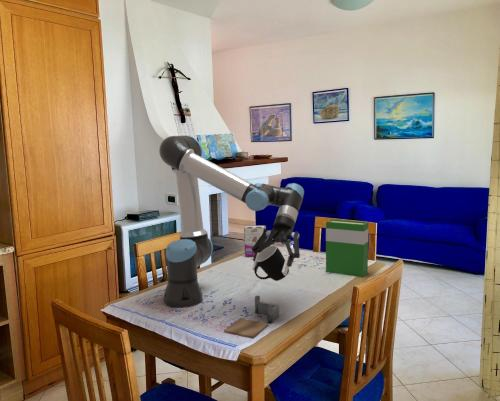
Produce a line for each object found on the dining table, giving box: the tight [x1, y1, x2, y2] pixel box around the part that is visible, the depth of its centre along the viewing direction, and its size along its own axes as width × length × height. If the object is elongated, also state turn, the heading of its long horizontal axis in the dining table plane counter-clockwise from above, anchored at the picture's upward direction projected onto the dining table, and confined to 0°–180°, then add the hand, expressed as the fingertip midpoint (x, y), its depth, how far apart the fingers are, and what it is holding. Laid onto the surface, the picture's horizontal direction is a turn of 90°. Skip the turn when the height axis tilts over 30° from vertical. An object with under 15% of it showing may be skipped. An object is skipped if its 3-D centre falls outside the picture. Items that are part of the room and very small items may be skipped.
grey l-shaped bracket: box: [254, 295, 280, 324], centre depth 158 cm, size 10×8×6 cm
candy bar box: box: [243, 225, 267, 258], centre depth 237 cm, size 11×5×16 cm, turn 80°
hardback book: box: [325, 218, 369, 278], centre depth 206 cm, size 18×7×24 cm, turn 60°
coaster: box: [223, 317, 269, 339], centre depth 149 cm, size 11×11×1 cm
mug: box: [253, 244, 290, 282], centre depth 157 cm, size 12×9×10 cm
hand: (268, 272), depth 155 cm, fingers closed on mug, 11 cm apart
